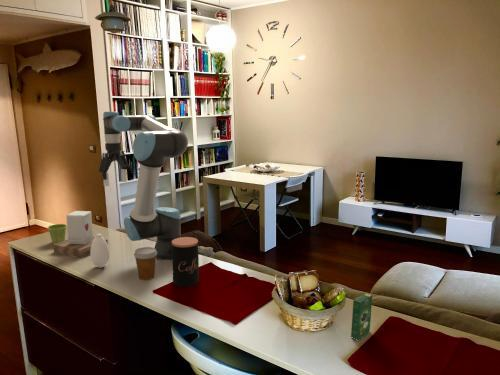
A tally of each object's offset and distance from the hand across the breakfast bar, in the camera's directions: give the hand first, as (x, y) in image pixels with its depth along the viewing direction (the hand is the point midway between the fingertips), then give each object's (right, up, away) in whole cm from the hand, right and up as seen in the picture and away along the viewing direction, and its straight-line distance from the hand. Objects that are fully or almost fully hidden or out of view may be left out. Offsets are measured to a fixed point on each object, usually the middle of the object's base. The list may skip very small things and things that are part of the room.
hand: (115, 183), depth 214 cm
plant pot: (-33, -31, +7) cm, 46 cm away
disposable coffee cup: (+25, -40, -37) cm, 60 cm away
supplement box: (-16, -30, -4) cm, 34 cm away
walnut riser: (-16, -33, -4) cm, 37 cm away
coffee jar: (+43, -41, -42) cm, 73 cm away
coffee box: (+105, -49, -81) cm, 141 cm away
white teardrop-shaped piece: (+2, -38, -26) cm, 46 cm away
